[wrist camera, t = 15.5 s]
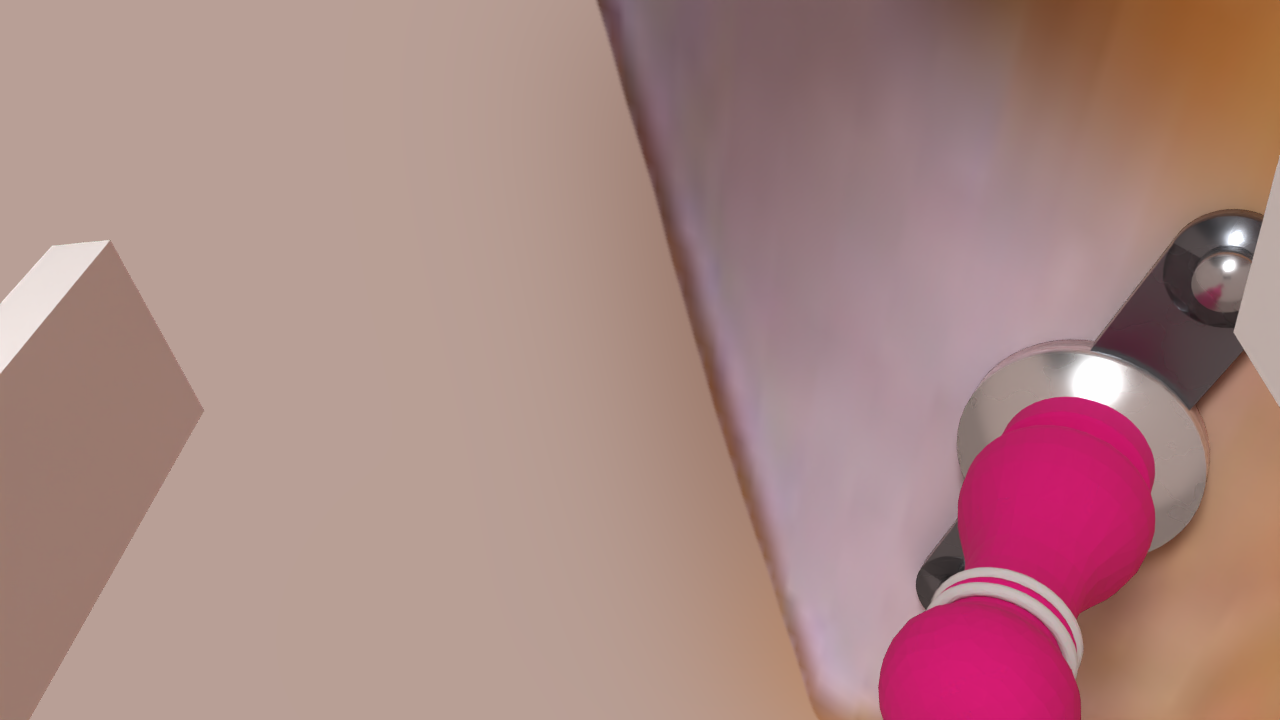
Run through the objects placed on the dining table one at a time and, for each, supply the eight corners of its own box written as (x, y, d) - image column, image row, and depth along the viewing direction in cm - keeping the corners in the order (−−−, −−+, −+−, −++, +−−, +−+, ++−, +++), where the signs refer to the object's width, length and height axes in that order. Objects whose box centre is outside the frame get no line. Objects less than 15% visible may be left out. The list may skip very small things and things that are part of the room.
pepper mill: (1033, 354, 44) (868, 639, 29) (1204, 439, 42) (1125, 798, 26) (962, 479, 48) (785, 787, 33) (1115, 563, 46) (1001, 935, 30)
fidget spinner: (1031, 671, 52) (1020, 699, 50) (860, 551, 54) (845, 574, 53) (1401, 290, 37) (1404, 311, 36) (1145, 150, 40) (1136, 164, 38)
